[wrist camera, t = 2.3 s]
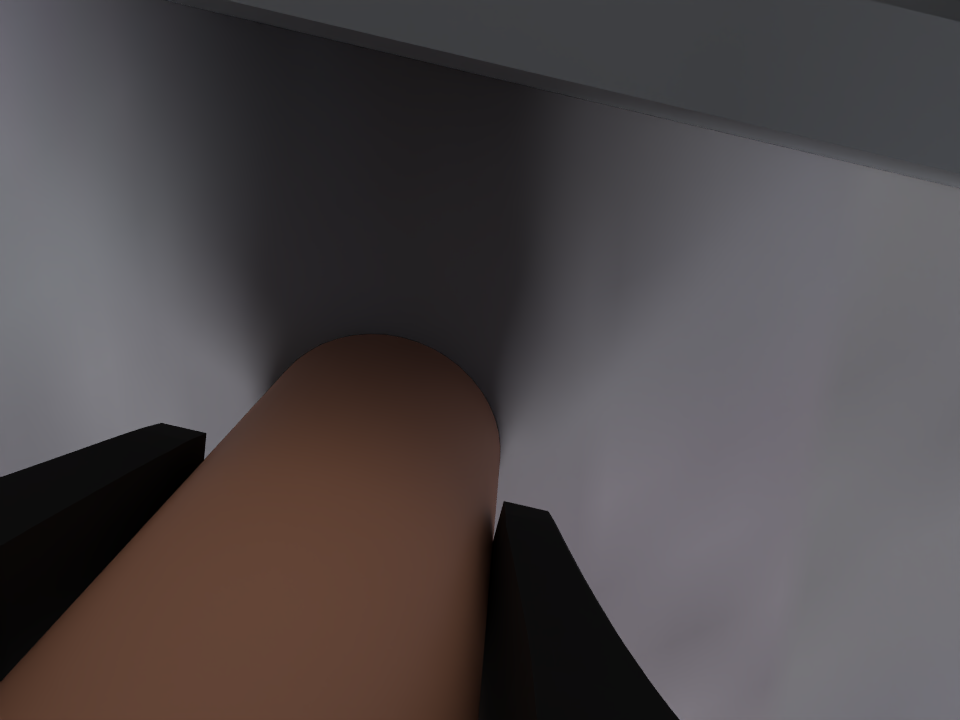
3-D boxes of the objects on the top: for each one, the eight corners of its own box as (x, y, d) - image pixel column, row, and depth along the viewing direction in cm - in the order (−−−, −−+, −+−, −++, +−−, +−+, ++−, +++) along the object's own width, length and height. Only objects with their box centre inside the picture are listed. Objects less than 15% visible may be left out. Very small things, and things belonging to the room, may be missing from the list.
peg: (525, 365, 11) (517, 913, 4) (471, 571, 12) (384, 1277, 5) (276, 308, 11) (-259, 741, 4) (250, 521, 12) (-175, 1158, 5)
